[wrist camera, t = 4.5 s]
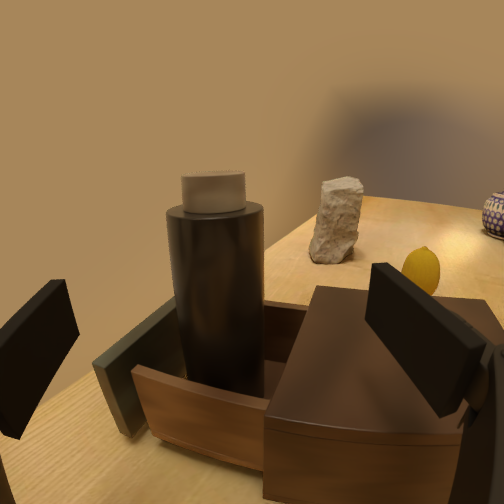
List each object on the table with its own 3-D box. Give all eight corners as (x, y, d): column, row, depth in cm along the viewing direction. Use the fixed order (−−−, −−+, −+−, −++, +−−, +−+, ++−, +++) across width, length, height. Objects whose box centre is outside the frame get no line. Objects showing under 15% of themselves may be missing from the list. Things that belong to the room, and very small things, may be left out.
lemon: (392, 293, 42) (400, 240, 39) (425, 293, 41) (434, 241, 39) (403, 311, 37) (413, 253, 34) (439, 310, 36) (451, 253, 33)
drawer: (108, 426, 19) (78, 356, 17) (187, 342, 31) (179, 280, 29) (303, 492, 14) (317, 428, 12) (334, 369, 26) (343, 301, 24)
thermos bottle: (178, 406, 21) (143, 179, 16) (210, 364, 26) (194, 170, 21) (249, 427, 19) (241, 177, 14) (273, 377, 24) (274, 169, 19)
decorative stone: (302, 247, 63) (303, 174, 59) (344, 245, 64) (347, 175, 59) (314, 265, 54) (317, 179, 49) (363, 262, 54) (368, 180, 49)
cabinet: (262, 498, 15) (263, 415, 12) (309, 369, 28) (316, 284, 25) (477, 508, 10) (551, 422, 8) (456, 381, 23) (484, 299, 20)
